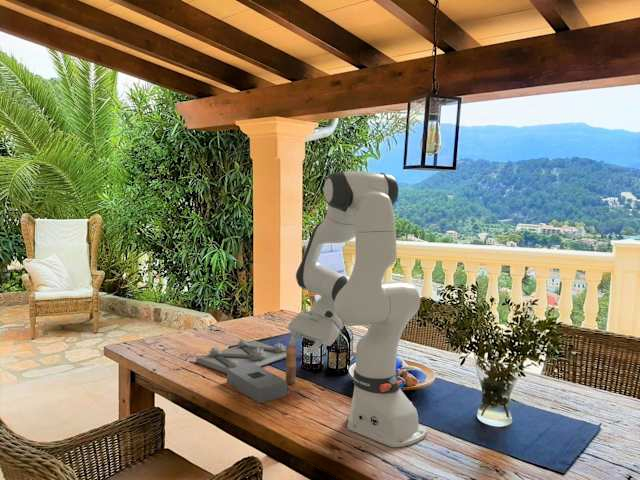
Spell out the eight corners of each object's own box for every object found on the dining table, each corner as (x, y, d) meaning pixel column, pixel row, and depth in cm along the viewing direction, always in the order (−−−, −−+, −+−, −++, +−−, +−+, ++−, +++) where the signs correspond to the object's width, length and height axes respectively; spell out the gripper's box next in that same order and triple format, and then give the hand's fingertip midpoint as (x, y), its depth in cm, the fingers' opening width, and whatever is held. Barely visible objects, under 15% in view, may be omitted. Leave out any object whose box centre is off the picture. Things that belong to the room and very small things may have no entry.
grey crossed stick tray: (254, 345, 208) (254, 328, 207) (293, 357, 194) (293, 339, 193) (193, 364, 185) (193, 345, 184) (233, 379, 171) (233, 358, 170)
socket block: (286, 395, 158) (287, 381, 157) (259, 403, 151) (259, 388, 151) (253, 375, 173) (253, 363, 173) (227, 382, 167) (227, 369, 166)
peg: (297, 383, 168) (298, 347, 167) (289, 385, 166) (290, 349, 165) (291, 380, 170) (292, 345, 169) (283, 382, 168) (284, 346, 167)
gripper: (297, 304, 181) (275, 336, 176) (338, 316, 167) (315, 351, 161) (306, 314, 185) (285, 346, 179) (347, 327, 170) (325, 361, 164)
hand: (300, 348), depth 170 cm, fingers open, 8 cm apart
